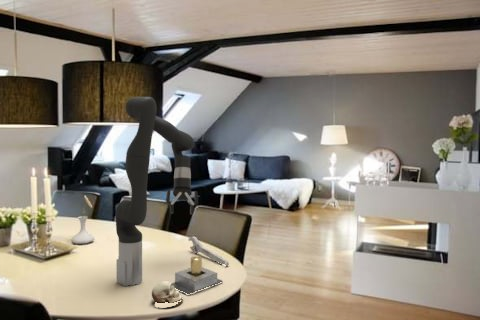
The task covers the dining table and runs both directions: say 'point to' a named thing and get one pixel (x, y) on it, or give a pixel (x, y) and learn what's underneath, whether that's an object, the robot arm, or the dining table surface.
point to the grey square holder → (194, 280)
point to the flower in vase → (83, 228)
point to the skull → (165, 293)
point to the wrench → (206, 251)
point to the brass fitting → (196, 266)
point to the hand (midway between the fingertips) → (181, 213)
